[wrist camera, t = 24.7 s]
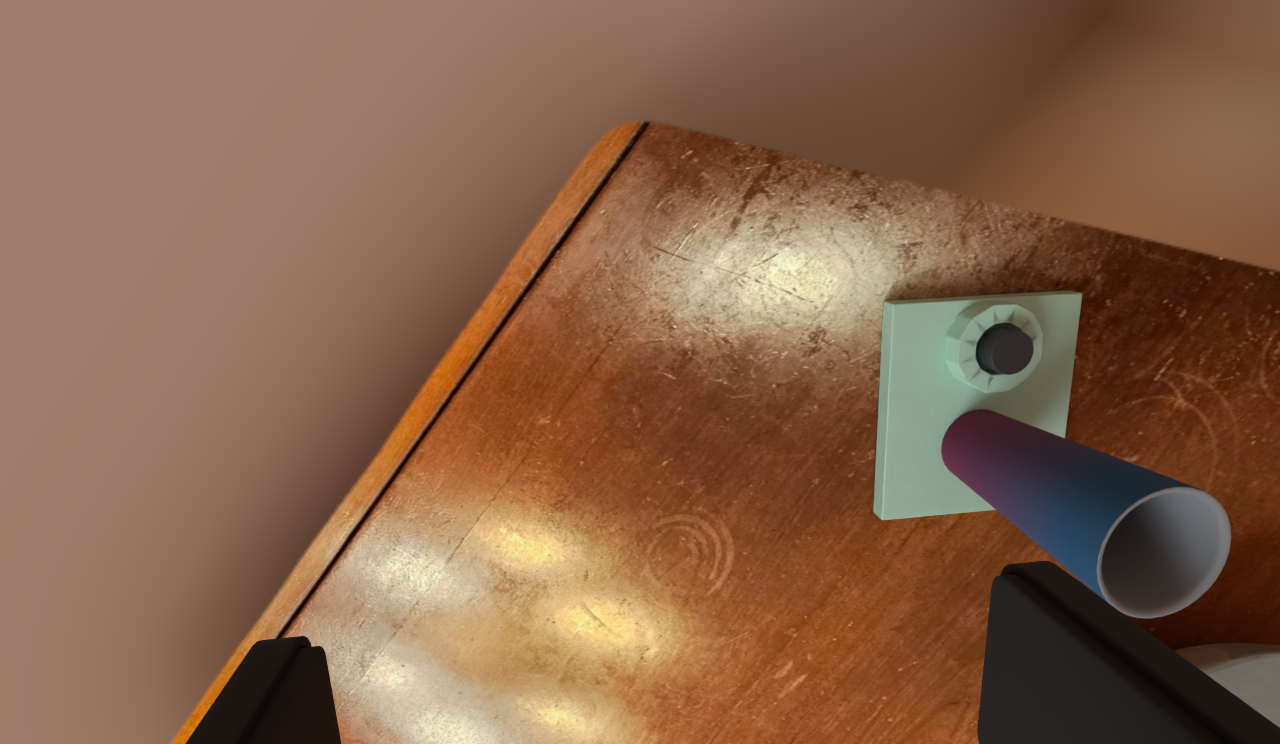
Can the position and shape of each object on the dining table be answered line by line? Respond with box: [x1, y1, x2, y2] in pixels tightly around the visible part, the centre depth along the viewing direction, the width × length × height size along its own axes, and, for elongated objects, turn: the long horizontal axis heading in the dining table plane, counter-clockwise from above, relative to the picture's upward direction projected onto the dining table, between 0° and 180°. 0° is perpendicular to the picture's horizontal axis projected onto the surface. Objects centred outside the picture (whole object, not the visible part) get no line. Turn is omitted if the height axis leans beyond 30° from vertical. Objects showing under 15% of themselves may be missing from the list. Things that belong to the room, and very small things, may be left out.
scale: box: [873, 290, 1082, 520], centre depth 46 cm, size 15×13×3 cm
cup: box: [941, 409, 1231, 618], centre depth 39 cm, size 7×7×15 cm
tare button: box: [977, 326, 1034, 375], centre depth 43 cm, size 3×3×2 cm
